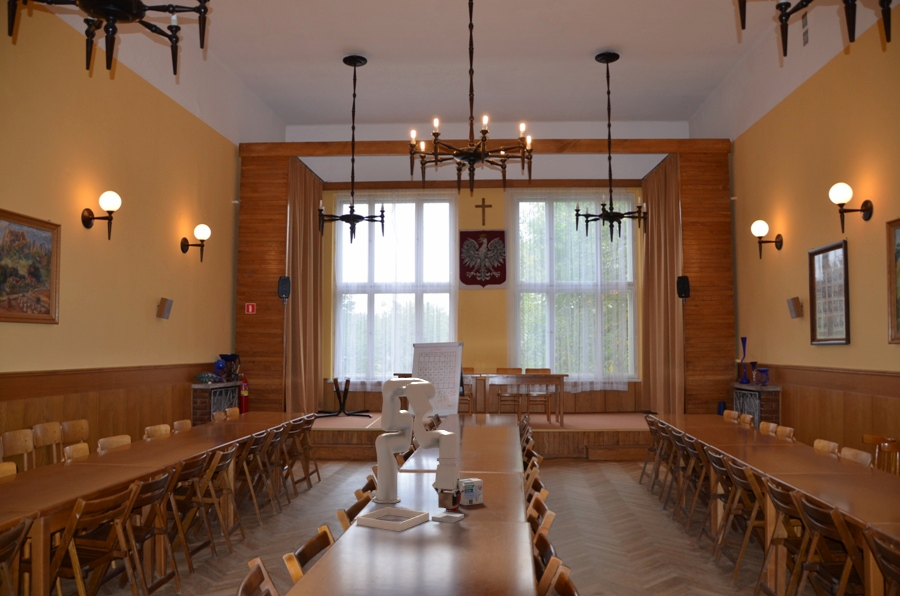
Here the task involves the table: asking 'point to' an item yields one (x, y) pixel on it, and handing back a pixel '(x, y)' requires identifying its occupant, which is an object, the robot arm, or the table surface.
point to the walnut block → (445, 500)
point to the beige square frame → (371, 521)
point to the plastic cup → (458, 500)
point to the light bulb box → (472, 491)
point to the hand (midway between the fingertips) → (448, 504)
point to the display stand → (448, 517)
